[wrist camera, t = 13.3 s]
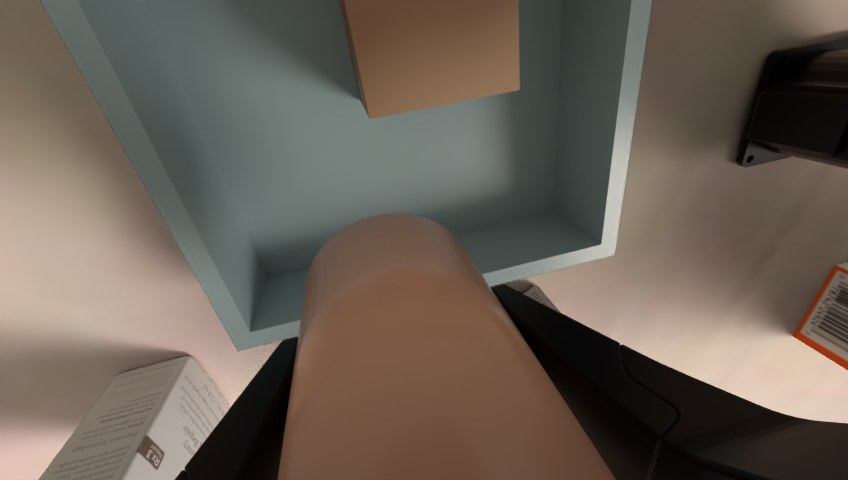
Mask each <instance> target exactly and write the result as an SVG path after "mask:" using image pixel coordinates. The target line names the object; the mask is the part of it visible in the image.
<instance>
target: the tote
mask: <svg viewBox="0 0 848 480" xmlns="http://www.w3.org/2000/svg"><path fill="white" fill-rule="evenodd" d="M40 1H41V3H42V5H43V6H44V8H45V10H46V12H47V14H48V15H49V17H50V19H51V21H52V22H53V24H54V26H55V28H56V30H57V31H58V33H59V35H60V37H61V38H62V40H63V42H64V44H65V46H66V47H67V49H68V51H69V53H70V54H71V56H72V58H73V60H74V62H75V63H76V65H77V67H78V69H79V70H80V72H81V74H82V76H83V77H84V79H85V81H86V83H87V85H88V86H89V88H90V90H91V92H92V93H93V95H94V97H95V99H96V101H97V102H98V104H99V106H100V108H101V109H102V111H103V113H104V115H105V117H106V118H107V120H108V122H109V124H110V125H111V127H112V129H113V131H114V133H115V134H116V136H117V138H118V140H119V141H120V143H121V145H122V147H123V149H124V150H125V152H126V154H127V156H128V157H129V159H130V161H131V163H132V164H133V166H134V168H135V170H136V172H137V173H138V175H139V177H140V179H141V180H142V182H143V184H144V186H145V188H146V189H147V191H148V193H149V195H150V196H151V198H152V200H153V202H154V204H155V205H156V207H157V209H158V211H159V212H160V214H161V216H162V218H163V220H164V221H165V223H166V225H167V227H168V228H169V230H170V232H171V234H172V236H173V237H174V239H175V241H176V243H177V244H178V246H179V248H180V250H181V251H182V253H183V255H184V257H185V259H186V260H187V262H188V264H189V266H190V267H191V269H192V271H193V273H194V275H195V276H196V278H197V280H198V282H199V283H200V285H201V287H202V289H203V291H204V292H205V294H206V296H207V298H208V299H209V301H210V303H211V305H212V307H213V308H214V310H215V312H216V314H217V315H218V317H219V319H220V321H221V323H222V324H223V326H224V328H225V330H226V331H227V333H228V335H229V337H230V338H231V340H232V342H233V344H234V346H235V347H236V349H237V351H241V350H245V349H249V348H252V347H256V346H260V345H264V344H268V343H272V342H276V341H280V340H284V339H288V338H292V337H296V336H299V329H300V322H301V315H302V308H303V301H304V294H305V287H306V281H307V275H308V272H309V269H310V266H311V264H312V262H313V260H314V258H315V256H316V255H317V253H318V252H319V251H320V249H321V248H322V247H323V246H324V245H325V243H326V242H327V241H328V240H329V239H330V238H332V237H333V236H334V235H335V234H336V233H338V232H339V231H341V230H342V229H344V228H345V227H347V226H349V225H351V224H353V223H355V222H357V221H359V220H362V219H365V218H368V217H372V216H376V215H381V214H391V213H403V214H412V215H418V216H421V217H425V218H428V219H430V220H433V221H435V222H437V223H439V224H441V225H442V226H444V227H445V228H447V229H448V230H449V231H450V232H452V233H453V234H454V235H455V236H456V237H457V238H458V240H459V241H460V242H461V243H462V245H463V246H464V248H465V249H466V251H467V252H468V254H469V256H470V257H471V259H472V260H473V262H474V263H475V265H476V266H477V268H478V269H479V271H480V272H481V274H482V275H483V277H484V278H485V280H486V282H487V283H488V285H489V286H490V287H491V286H495V285H499V284H503V283H507V282H511V281H515V280H519V279H523V278H526V277H530V276H534V275H538V274H542V273H546V272H550V271H554V270H558V269H562V268H566V267H569V266H573V265H577V264H581V263H585V262H589V261H593V260H597V259H601V258H605V257H609V256H613V255H615V248H616V242H617V235H618V228H619V222H620V215H621V208H622V201H623V195H624V188H625V181H626V174H627V168H628V161H629V154H630V147H631V141H632V134H633V127H634V120H635V114H636V107H637V100H638V94H639V87H640V80H641V73H642V67H643V60H644V53H645V46H646V40H647V33H648V26H649V19H650V13H651V6H652V0H519V78H520V90H517V91H512V92H507V93H502V94H497V95H492V96H487V97H481V98H476V99H471V100H466V101H461V102H456V103H451V104H445V105H440V106H435V107H430V108H425V109H420V110H415V111H409V112H404V113H399V114H394V115H389V116H384V117H379V118H374V119H369V117H368V115H367V113H366V111H365V109H364V107H363V105H362V103H361V101H360V97H359V92H358V88H357V83H356V79H355V74H354V70H353V65H352V61H351V56H350V52H349V47H348V43H347V38H346V34H345V29H344V25H343V20H342V16H341V11H340V7H339V2H338V0H40Z"/></svg>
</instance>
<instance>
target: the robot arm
mask: <svg viewBox="0 0 848 480" xmlns="http://www.w3.org/2000/svg"><path fill="white" fill-rule="evenodd" d="M792 156H793V157H798V158H802V159H806V160H811V161H815V162H820V163H824V164H829V165H833V166H838V167H842V168H847V169H848V37H842V38H837V39H832V40H826V41H821V42H816V43H811V44H805V45H800V46H795V47H789V48H784V49H779V50H775V51H773V52H772V53H771V54H770V55H769V57H768V58H767V61H766V64H765V67H764V70H763V73H762V77H761V80H760V83H759V87H758V90H757V93H756V97H755V100H754V103H753V107H752V110H751V113H750V116H749V120H748V123H747V126H746V130H745V133H744V136H743V140H742V143H741V146H740V150H739V153H738V156H737V160H736V163H737V164H738V165H740V166H743V167H749V166H754V165H758V164H762V163H766V162H771V161H775V160H779V159H783V158H788V157H792ZM491 289H492V291H493V292H494V294H495V295H496V297H497V298H498V300H499V301H500V303H501V304H502V306H503V308H504V309H505V311H506V312H507V314H508V315H509V317H510V318H511V320H512V321H513V323H514V324H515V326H516V327H517V329H518V330H519V332H520V333H521V335H522V337H523V338H524V340H525V341H526V343H527V344H528V346H529V347H530V349H531V350H532V352H533V353H534V355H535V356H536V358H537V359H538V361H539V363H540V364H541V366H542V367H543V369H544V370H545V372H546V373H547V375H548V376H549V378H550V379H551V381H552V382H553V384H554V385H555V387H556V388H557V390H558V392H559V393H560V395H561V396H562V398H563V399H564V401H565V402H566V404H567V405H568V407H569V408H570V410H571V411H572V413H573V414H574V416H575V418H576V419H577V421H578V422H579V424H580V425H581V427H582V428H583V430H584V431H585V433H586V434H587V436H588V437H589V439H590V440H591V442H592V443H593V445H594V447H595V448H596V450H597V451H598V453H599V454H600V456H601V457H602V459H603V460H604V462H605V463H606V465H607V466H608V468H609V469H610V471H611V473H612V474H613V476H614V477H615V479H616V480H848V424H847V423H835V422H823V421H814V420H808V419H802V418H797V417H793V416H789V415H785V414H782V413H779V412H776V411H773V410H770V409H767V408H765V407H762V406H760V405H757V404H755V403H752V402H750V401H748V400H745V399H743V398H741V397H738V396H736V395H733V394H731V393H729V392H726V391H724V390H722V389H719V388H717V387H714V386H712V385H710V384H707V383H705V382H703V381H700V380H698V379H695V378H693V377H691V376H688V375H686V374H684V373H682V372H679V371H677V370H675V369H673V368H670V367H668V366H666V365H663V364H661V363H659V362H657V361H655V360H653V359H651V358H649V357H647V356H645V355H643V354H641V353H639V352H637V351H635V350H633V349H631V348H629V347H627V346H625V345H620V343H619V342H617V341H615V340H613V339H611V338H609V337H607V336H605V335H603V334H601V333H599V332H597V331H595V330H593V329H591V328H589V327H587V326H585V325H583V324H581V323H579V322H577V321H575V320H573V319H571V318H569V317H568V316H566V315H564V314H562V313H560V312H558V311H556V310H554V309H552V308H550V307H548V306H546V305H544V304H542V303H540V302H538V301H536V300H534V299H532V298H530V297H528V296H526V295H524V294H522V293H520V292H518V291H516V290H514V289H512V288H511V287H509V286H507V285H498V286H495V287H491ZM297 342H298V337H293V338H289V339H285V340H283V341H282V342H281V343H280V344H279V346H278V347H277V348H276V350H275V351H274V352H273V353H272V355H271V356H270V357H269V359H268V360H267V361H266V362H265V364H264V365H263V366H262V368H261V369H260V370H259V371H258V373H257V374H256V375H255V377H254V378H253V379H252V381H251V382H250V383H249V384H248V386H247V387H246V388H245V390H244V391H243V392H242V393H241V395H240V396H239V397H238V399H237V400H236V401H235V402H234V404H233V405H232V406H231V408H230V409H229V410H228V411H227V413H226V414H225V415H224V417H223V418H222V419H221V421H220V422H219V423H218V424H217V426H216V427H215V428H214V430H213V431H212V432H211V433H210V435H209V436H208V437H207V439H206V440H205V441H204V442H203V444H202V445H201V446H200V448H199V449H198V450H197V452H196V453H195V454H194V455H193V457H192V458H191V459H190V461H189V462H188V463H187V464H186V466H185V470H182V471H181V472H180V473H179V475H178V476H177V477H176V478H175V480H278V473H279V466H280V459H281V452H282V446H283V439H284V432H285V425H286V418H287V411H288V404H289V397H290V391H291V384H292V377H293V370H294V363H295V356H296V349H297Z"/></svg>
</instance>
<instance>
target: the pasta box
mask: <svg viewBox="0 0 848 480" xmlns="http://www.w3.org/2000/svg"><path fill="white" fill-rule="evenodd" d="M793 337H795V338H797V339H798V340H800V341H801V342H803V343H805V344H806V345H808V346H810V347H811V348H813V349H814V350H816V351H818V352H819V353H821V354H823V355H824V356H826V357H827V358H829V359H831V360H832V361H834V362H835V363H837V364H839V365H840V366H842V367H844V368H845V369H847V370H848V263H843V264H838V265H835V266H834V268H833V270H832V271H831V273H830V275H829V276H828V278H827V280H826V281H825V283H824V285H823V286H822V288H821V290H820V291H819V293H818V295H817V296H816V298H815V300H814V301H813V303H812V305H811V306H810V308H809V310H808V312H807V313H806V315H805V317H804V318H803V320H802V322H801V323H800V325H799V327H798V328H797V330H796V332H795V333H794V335H793Z"/></svg>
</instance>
